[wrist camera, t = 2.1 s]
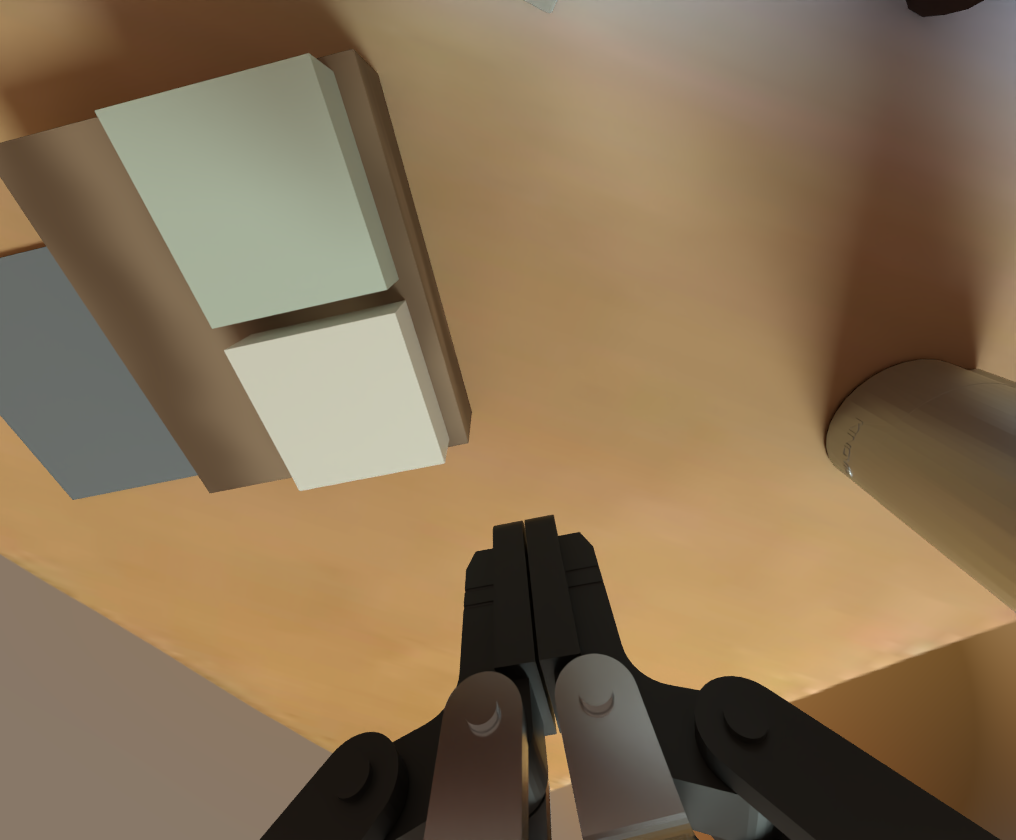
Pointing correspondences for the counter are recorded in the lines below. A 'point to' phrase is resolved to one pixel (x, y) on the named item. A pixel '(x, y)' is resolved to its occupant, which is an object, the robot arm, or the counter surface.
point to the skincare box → (543, 4)
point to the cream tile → (344, 395)
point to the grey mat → (74, 388)
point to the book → (939, 6)
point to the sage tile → (256, 189)
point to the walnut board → (173, 307)
